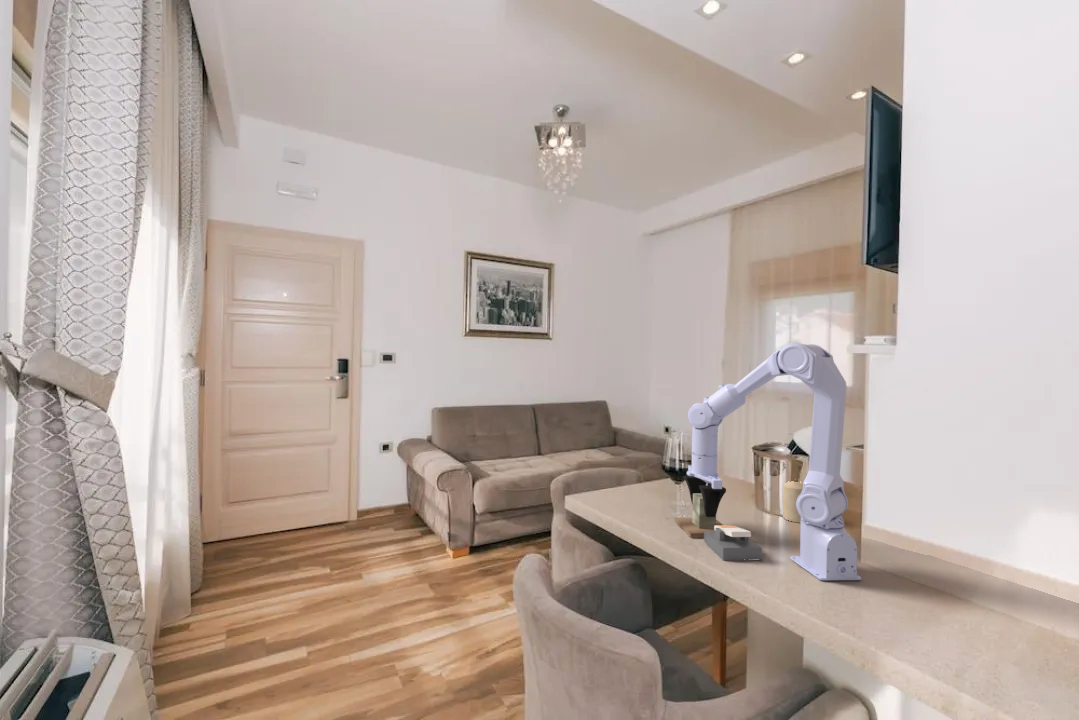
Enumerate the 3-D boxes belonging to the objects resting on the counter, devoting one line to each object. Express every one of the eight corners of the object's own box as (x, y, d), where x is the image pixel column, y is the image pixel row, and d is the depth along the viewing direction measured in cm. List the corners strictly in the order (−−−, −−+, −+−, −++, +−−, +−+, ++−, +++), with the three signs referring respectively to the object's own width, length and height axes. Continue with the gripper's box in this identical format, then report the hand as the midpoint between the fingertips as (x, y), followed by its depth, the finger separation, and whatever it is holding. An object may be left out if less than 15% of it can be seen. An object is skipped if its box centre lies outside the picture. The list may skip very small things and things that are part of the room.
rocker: (751, 536, 91) (750, 531, 91) (732, 536, 91) (731, 531, 91) (732, 530, 99) (731, 525, 99) (714, 530, 99) (714, 525, 99)
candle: (805, 524, 112) (806, 484, 112) (780, 519, 115) (781, 480, 115) (808, 518, 116) (808, 480, 116) (784, 514, 119) (784, 476, 119)
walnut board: (733, 537, 102) (733, 533, 102) (690, 537, 102) (690, 533, 102) (714, 522, 112) (714, 518, 112) (675, 522, 112) (675, 518, 112)
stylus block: (715, 528, 105) (716, 498, 105) (699, 528, 105) (699, 498, 105) (708, 522, 109) (709, 493, 109) (692, 522, 109) (692, 493, 109)
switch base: (761, 560, 91) (762, 537, 91) (723, 560, 90) (723, 537, 90) (739, 542, 100) (739, 521, 100) (704, 542, 99) (704, 521, 99)
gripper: (676, 447, 114) (676, 501, 114) (700, 460, 100) (699, 521, 100) (704, 448, 114) (703, 501, 114) (731, 460, 100) (730, 521, 100)
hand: (703, 511), depth 107 cm, fingers open, 7 cm apart
